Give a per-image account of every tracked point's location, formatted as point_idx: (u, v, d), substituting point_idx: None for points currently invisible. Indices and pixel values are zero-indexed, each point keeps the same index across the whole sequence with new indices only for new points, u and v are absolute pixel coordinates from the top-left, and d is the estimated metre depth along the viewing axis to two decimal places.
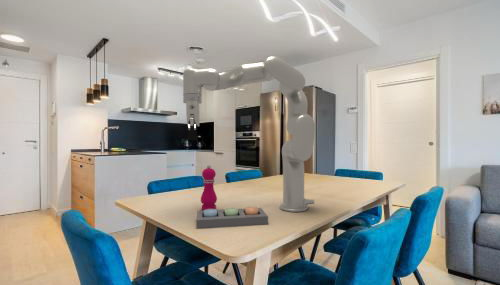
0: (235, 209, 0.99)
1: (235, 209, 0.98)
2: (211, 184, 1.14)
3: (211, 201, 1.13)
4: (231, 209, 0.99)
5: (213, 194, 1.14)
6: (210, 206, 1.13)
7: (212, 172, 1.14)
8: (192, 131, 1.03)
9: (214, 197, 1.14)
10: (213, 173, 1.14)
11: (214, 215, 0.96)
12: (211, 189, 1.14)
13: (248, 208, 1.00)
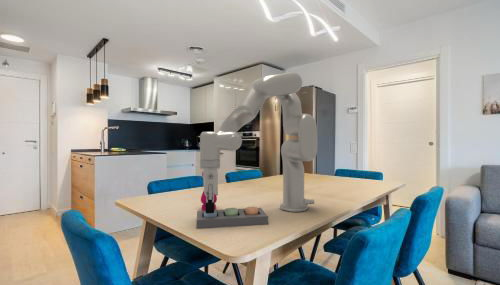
0: (235, 209, 0.99)
1: (235, 209, 0.98)
2: None
3: None
4: (231, 209, 0.99)
5: None
6: None
7: None
8: (210, 204, 0.96)
9: (214, 197, 1.14)
10: None
11: None
12: None
13: (248, 208, 1.00)
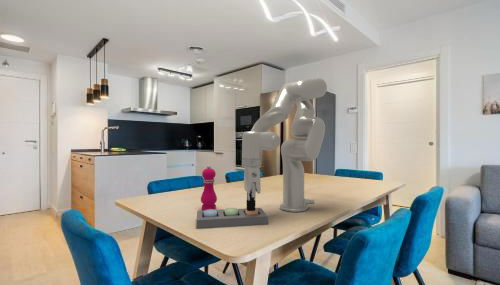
0: (235, 209, 0.99)
1: (235, 209, 0.98)
2: (211, 184, 1.14)
3: (211, 201, 1.13)
4: (231, 209, 0.99)
5: (213, 194, 1.14)
6: (210, 206, 1.13)
7: (212, 172, 1.14)
8: (252, 202, 0.99)
9: (214, 197, 1.14)
10: (213, 173, 1.14)
11: (214, 215, 0.96)
12: (211, 189, 1.14)
13: None
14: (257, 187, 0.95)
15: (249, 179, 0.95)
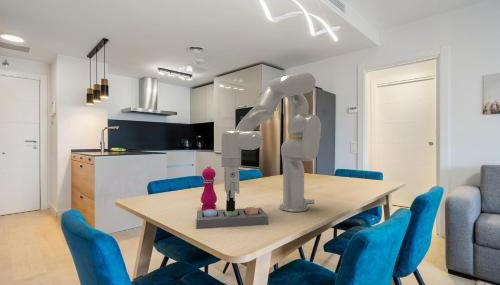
0: (235, 210, 0.99)
1: (235, 211, 0.98)
2: (211, 184, 1.14)
3: (211, 201, 1.13)
4: None
5: (213, 194, 1.14)
6: (210, 206, 1.13)
7: (212, 172, 1.14)
8: (231, 202, 0.97)
9: (214, 197, 1.14)
10: (213, 173, 1.14)
11: (214, 215, 0.96)
12: (211, 189, 1.14)
13: (248, 208, 1.00)
14: (236, 187, 0.94)
15: (228, 179, 0.94)
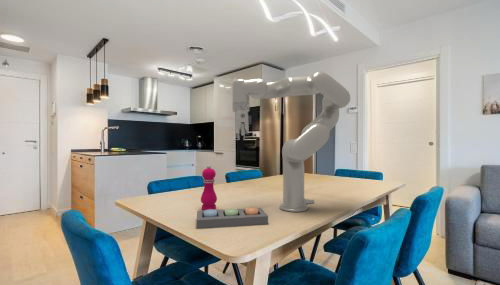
0: (235, 210, 0.99)
1: (235, 210, 0.98)
2: (211, 184, 1.14)
3: (211, 201, 1.13)
4: (231, 210, 0.99)
5: (213, 194, 1.14)
6: (210, 206, 1.13)
7: (212, 172, 1.14)
8: (241, 141, 1.13)
9: (214, 197, 1.14)
10: (213, 173, 1.14)
11: (214, 215, 0.96)
12: (211, 189, 1.14)
13: (248, 208, 1.00)
14: (245, 126, 1.10)
15: (238, 119, 1.09)
